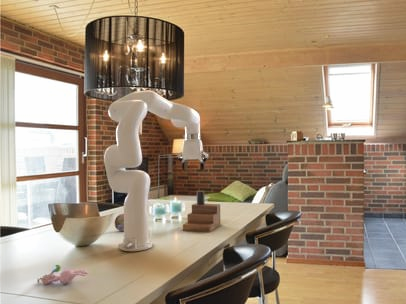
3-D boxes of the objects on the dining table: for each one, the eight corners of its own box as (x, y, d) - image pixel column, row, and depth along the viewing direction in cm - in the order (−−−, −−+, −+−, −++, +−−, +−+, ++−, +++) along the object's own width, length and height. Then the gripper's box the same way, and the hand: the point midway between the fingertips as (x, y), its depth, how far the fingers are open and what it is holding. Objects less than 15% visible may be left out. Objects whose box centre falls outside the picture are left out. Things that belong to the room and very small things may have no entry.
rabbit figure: (34, 291, 102) (82, 284, 100) (31, 271, 102) (78, 263, 100) (48, 283, 108) (93, 276, 106) (45, 264, 108) (90, 257, 106)
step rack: (209, 232, 167) (209, 209, 167) (182, 230, 171) (182, 208, 171) (220, 224, 183) (220, 204, 183) (195, 223, 187) (195, 203, 187)
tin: (117, 232, 168) (117, 215, 168) (113, 231, 170) (113, 214, 170) (143, 227, 180) (142, 210, 180) (139, 226, 182) (139, 210, 182)
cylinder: (202, 205, 180) (202, 191, 180) (195, 204, 182) (195, 191, 182) (205, 203, 184) (205, 190, 184) (198, 203, 185) (198, 190, 185)
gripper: (174, 137, 177) (174, 171, 178) (205, 137, 173) (206, 171, 173) (180, 138, 185) (181, 170, 185) (211, 137, 180) (211, 170, 181)
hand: (193, 170), depth 179 cm, fingers open, 9 cm apart
